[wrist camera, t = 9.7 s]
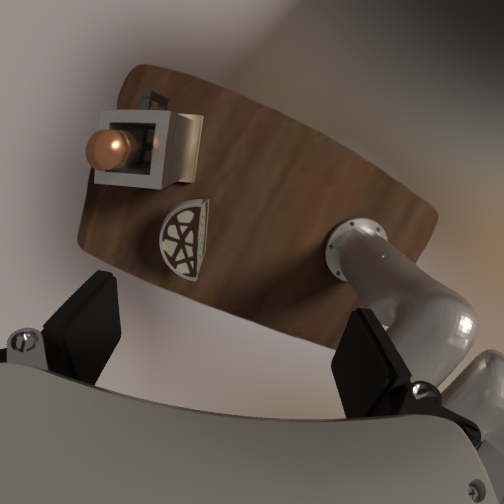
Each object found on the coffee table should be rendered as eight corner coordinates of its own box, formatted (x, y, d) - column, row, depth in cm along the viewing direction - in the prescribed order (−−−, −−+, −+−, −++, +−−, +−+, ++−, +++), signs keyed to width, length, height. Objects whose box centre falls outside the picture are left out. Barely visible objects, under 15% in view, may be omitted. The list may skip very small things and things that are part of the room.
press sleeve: (197, 103, 39) (175, 86, 26) (186, 176, 43) (161, 189, 30) (144, 101, 38) (104, 87, 25) (135, 171, 43) (94, 183, 30)
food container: (174, 187, 46) (156, 198, 37) (210, 190, 46) (200, 202, 37) (172, 254, 50) (156, 279, 41) (205, 258, 51) (195, 284, 41)
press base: (203, 116, 42) (201, 115, 40) (194, 181, 46) (192, 182, 44) (141, 113, 41) (137, 112, 39) (134, 175, 45) (129, 176, 43)
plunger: (180, 131, 40) (129, 123, 22) (176, 163, 42) (124, 178, 24) (149, 129, 40) (84, 123, 21) (145, 160, 42) (79, 175, 23)
